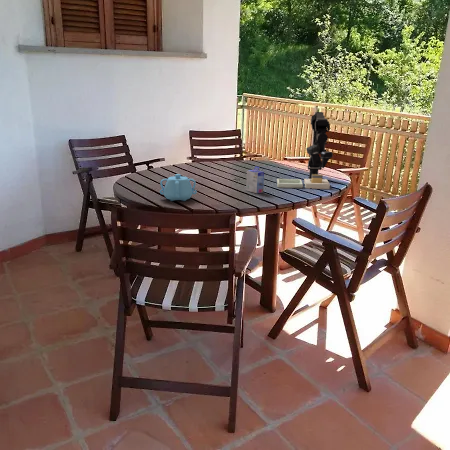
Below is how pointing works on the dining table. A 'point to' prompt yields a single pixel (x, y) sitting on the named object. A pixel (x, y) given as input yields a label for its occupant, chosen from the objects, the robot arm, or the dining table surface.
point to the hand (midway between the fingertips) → (318, 166)
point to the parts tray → (289, 183)
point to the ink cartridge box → (255, 181)
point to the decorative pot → (178, 188)
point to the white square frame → (317, 184)
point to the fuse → (316, 178)
